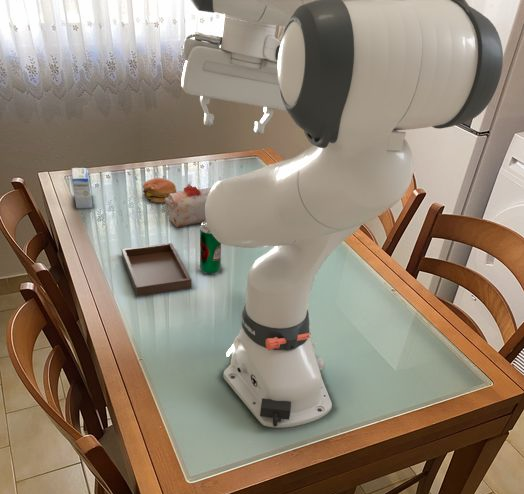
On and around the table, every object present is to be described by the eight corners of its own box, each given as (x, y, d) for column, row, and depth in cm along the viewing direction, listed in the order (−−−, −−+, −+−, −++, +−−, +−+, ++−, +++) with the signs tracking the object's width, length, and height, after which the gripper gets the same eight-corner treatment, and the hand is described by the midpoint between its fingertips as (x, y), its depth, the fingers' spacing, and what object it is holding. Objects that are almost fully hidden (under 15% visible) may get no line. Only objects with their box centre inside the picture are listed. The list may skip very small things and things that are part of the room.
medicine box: (75, 197, 155) (70, 167, 149) (91, 196, 156) (87, 167, 151) (76, 208, 149) (71, 179, 144) (92, 207, 151) (88, 178, 145)
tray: (191, 288, 123) (191, 279, 122) (137, 296, 119) (136, 287, 118) (172, 251, 135) (171, 242, 134) (122, 257, 131) (121, 249, 130)
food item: (173, 230, 144) (172, 196, 138) (164, 217, 149) (162, 184, 143) (220, 223, 149) (221, 189, 143) (209, 211, 155) (209, 178, 148)
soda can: (217, 276, 128) (218, 231, 120) (197, 272, 129) (197, 227, 121) (222, 265, 132) (224, 221, 124) (203, 262, 132) (203, 218, 125)
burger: (178, 191, 163) (178, 176, 160) (173, 204, 156) (173, 189, 153) (146, 189, 163) (145, 174, 160) (140, 202, 156) (138, 186, 153)
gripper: (187, 31, 84) (178, 123, 91) (307, 56, 90) (290, 141, 97) (183, 28, 89) (174, 116, 96) (297, 52, 95) (281, 133, 102)
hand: (233, 128), depth 96 cm, fingers open, 8 cm apart
